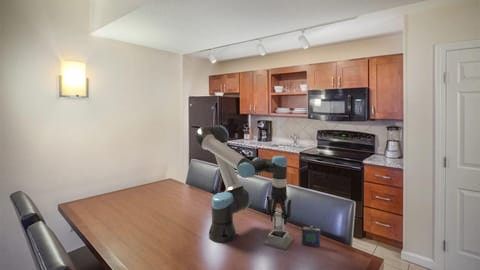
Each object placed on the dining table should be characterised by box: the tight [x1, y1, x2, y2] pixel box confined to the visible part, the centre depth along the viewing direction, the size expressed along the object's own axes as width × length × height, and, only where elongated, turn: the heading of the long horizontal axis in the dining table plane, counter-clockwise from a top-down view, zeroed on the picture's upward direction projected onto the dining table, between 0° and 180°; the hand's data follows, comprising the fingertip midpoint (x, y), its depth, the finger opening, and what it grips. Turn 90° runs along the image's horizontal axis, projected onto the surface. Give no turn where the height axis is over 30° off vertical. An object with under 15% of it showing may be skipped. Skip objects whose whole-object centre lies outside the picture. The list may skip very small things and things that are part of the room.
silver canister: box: [274, 209, 283, 238], centre depth 139 cm, size 5×5×14 cm
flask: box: [301, 224, 321, 248], centre depth 136 cm, size 9×3×11 cm, turn 77°
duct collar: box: [263, 228, 294, 251], centre depth 140 cm, size 12×12×5 cm
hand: (278, 228), depth 139 cm, fingers closed on silver canister, 5 cm apart
